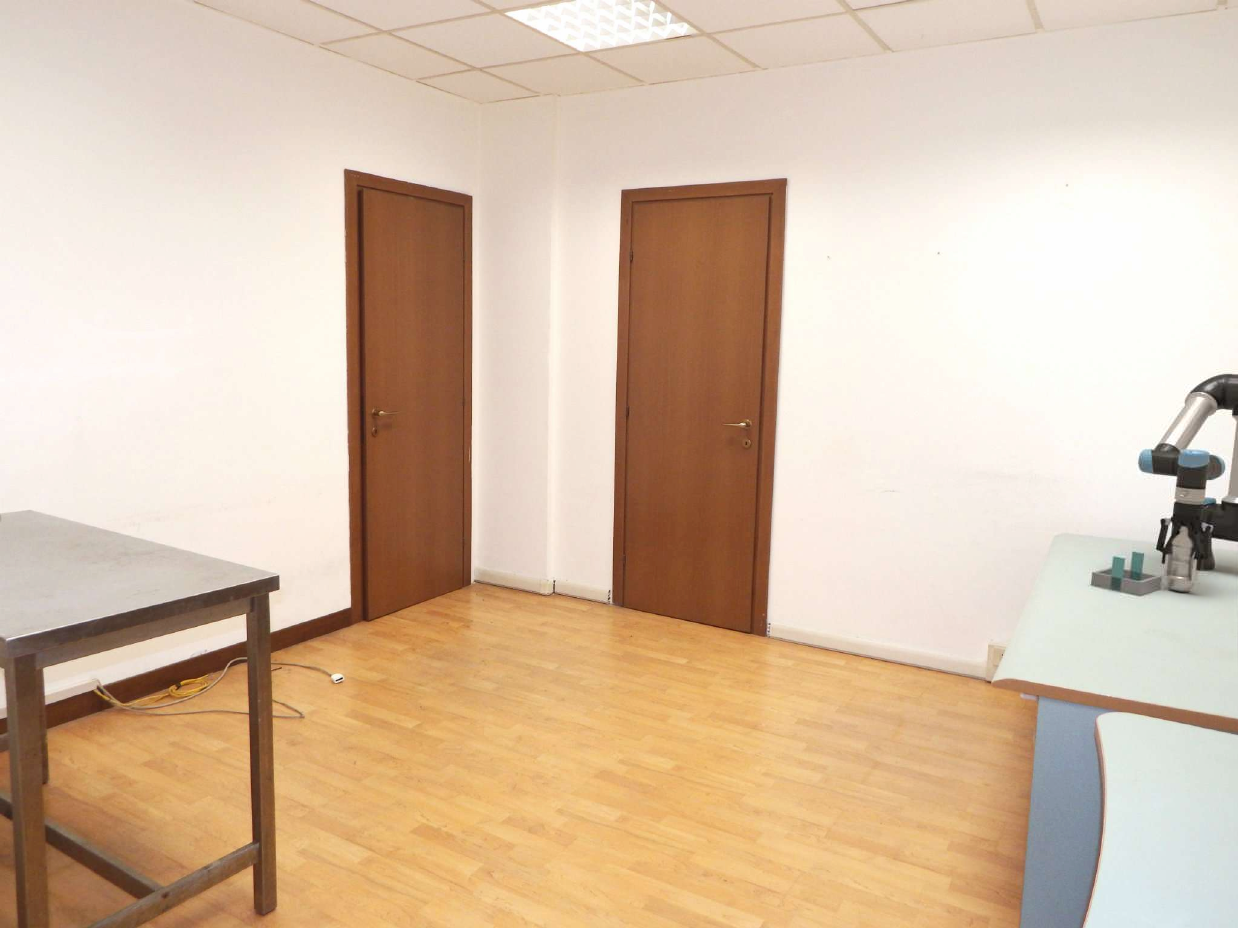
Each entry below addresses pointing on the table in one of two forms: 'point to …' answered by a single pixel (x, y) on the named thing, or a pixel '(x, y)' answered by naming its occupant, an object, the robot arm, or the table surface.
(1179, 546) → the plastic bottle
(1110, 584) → the tray
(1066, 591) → the table surface
